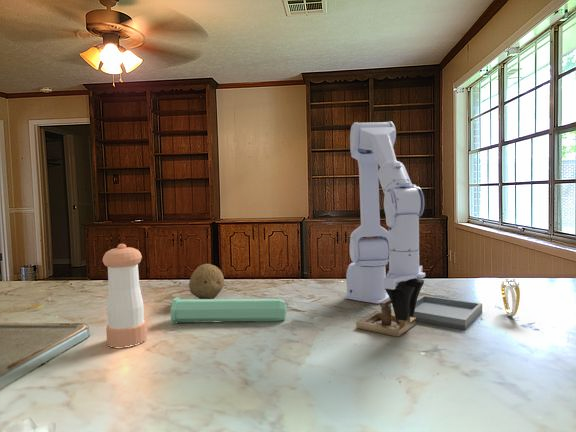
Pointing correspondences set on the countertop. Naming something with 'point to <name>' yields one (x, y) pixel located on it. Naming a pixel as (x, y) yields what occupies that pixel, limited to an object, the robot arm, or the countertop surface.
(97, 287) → the countertop surface
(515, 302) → the ring
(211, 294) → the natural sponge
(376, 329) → the wooden frame with post
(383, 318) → the brown stamp
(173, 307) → the container
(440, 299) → the tray
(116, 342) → the salt shaker
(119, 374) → the countertop surface
